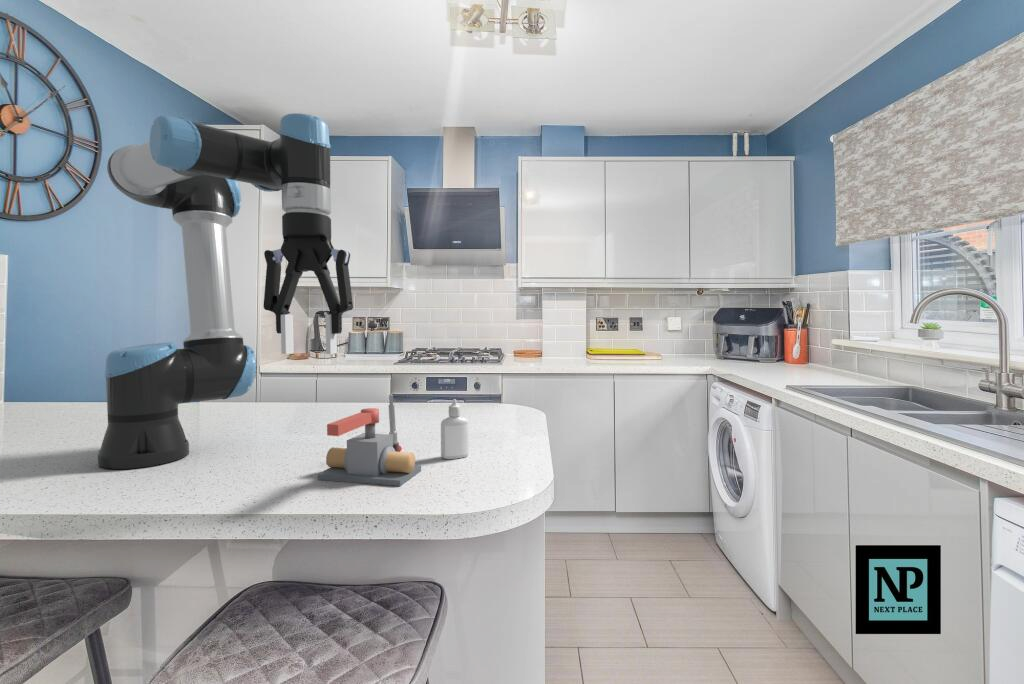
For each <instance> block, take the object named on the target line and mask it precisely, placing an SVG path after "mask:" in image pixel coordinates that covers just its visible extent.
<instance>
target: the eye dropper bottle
mask: <svg viewBox="0 0 1024 684" xmlns="http://www.w3.org/2000/svg"><path fill="white" fill-rule="evenodd" d="M469 441H470V439H469V421H468V419H467V418H465V417H463V416H461V405H459V404H458V402H457V399H452V401H451V404H450V405H449V406H448V416H447V417H446V418H444V419H442V421H441V422H440V457H441V458H442V459H445V460H458V458H459V459H464V458H467V457H468V456H469V453H470V452H469V450H470V449H469ZM463 457H464V458H463Z"/></svg>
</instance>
